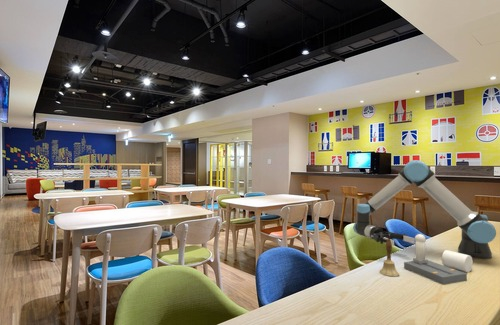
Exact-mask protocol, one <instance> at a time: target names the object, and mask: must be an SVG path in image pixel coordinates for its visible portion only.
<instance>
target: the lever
mask: <svg viewBox="0 0 500 325" xmlns="http://www.w3.org/2000/svg"><path fill="white" fill-rule="evenodd" d="M414 238H415V258H412V261H414V262H416V263H419V264H423V263H428V260H429V259H426V240H427V239H426V236H425V235H423V234H420V233H418V234H416V235H415V237H414Z"/></svg>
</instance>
